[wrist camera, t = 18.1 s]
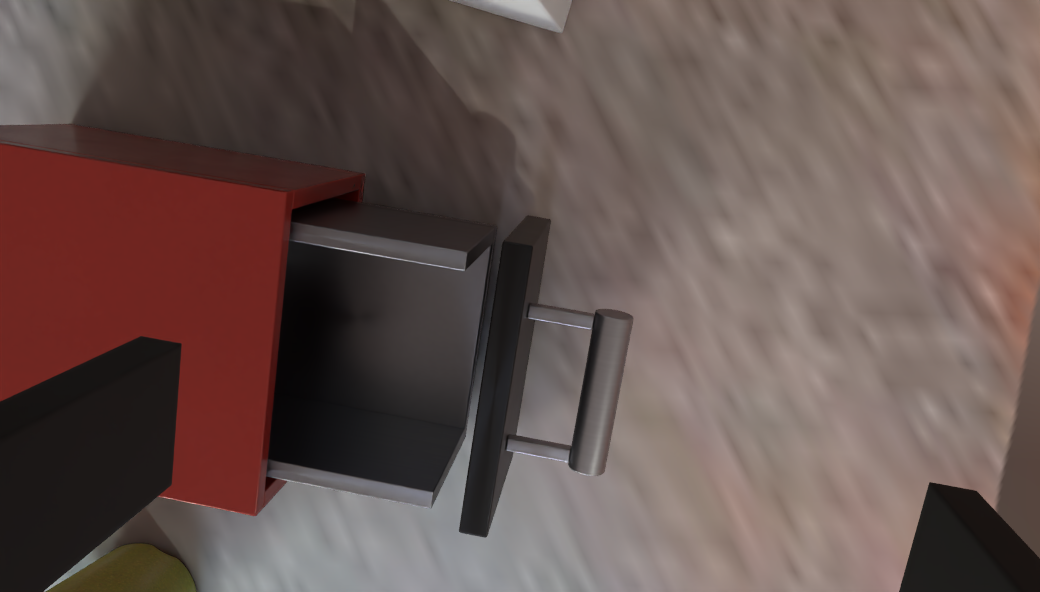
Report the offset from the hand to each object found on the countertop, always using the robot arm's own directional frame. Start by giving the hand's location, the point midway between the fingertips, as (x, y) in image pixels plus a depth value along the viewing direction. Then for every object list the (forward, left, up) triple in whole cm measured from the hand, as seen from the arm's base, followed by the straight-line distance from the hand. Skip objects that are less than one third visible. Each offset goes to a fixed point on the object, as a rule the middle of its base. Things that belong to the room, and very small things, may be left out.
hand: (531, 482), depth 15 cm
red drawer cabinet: (+16, -12, -29) cm, 35 cm away
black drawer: (+8, -2, -28) cm, 29 cm away
